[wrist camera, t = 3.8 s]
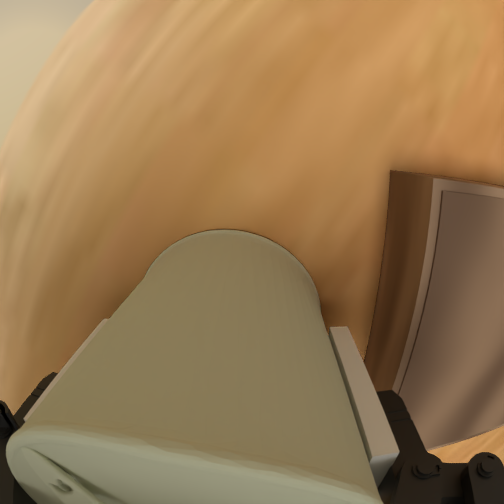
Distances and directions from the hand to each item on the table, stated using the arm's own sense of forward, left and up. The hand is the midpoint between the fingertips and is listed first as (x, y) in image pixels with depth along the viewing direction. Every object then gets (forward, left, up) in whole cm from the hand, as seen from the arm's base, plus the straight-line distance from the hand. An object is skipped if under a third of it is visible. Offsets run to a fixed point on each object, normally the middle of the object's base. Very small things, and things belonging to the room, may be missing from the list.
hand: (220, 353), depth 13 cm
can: (0, 0, -3) cm, 3 cm away
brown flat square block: (+15, 0, -3) cm, 15 cm away
